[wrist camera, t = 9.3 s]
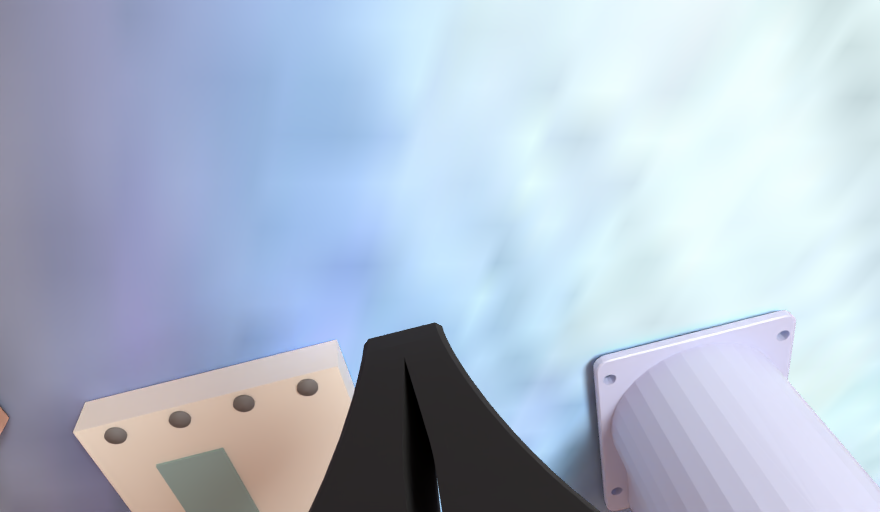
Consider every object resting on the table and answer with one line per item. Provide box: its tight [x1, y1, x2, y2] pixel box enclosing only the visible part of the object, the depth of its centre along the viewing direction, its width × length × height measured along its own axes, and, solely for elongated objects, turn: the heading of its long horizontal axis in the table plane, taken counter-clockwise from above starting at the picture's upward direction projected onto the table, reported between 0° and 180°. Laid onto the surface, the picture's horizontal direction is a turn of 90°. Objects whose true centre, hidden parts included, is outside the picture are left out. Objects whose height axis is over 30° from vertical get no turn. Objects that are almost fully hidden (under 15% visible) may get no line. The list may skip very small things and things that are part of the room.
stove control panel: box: [73, 340, 355, 512], centre depth 25 cm, size 12×9×3 cm
